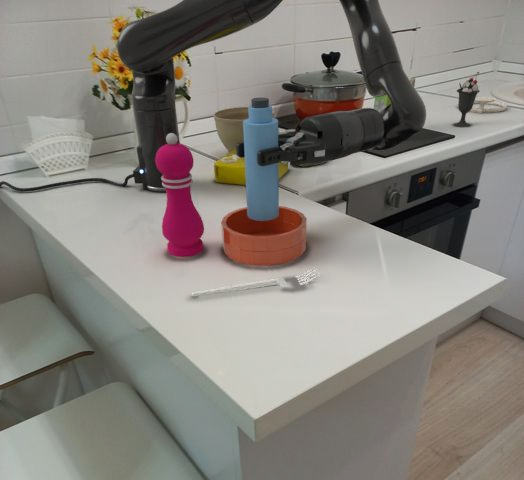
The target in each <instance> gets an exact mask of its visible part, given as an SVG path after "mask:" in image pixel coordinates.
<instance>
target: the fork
mask: <svg viewBox="0 0 524 480" xmlns="http://www.w3.org/2000/svg"><path fill="white" fill-rule="evenodd" d="M320 275H321V273H320V272H319V270H318V268H317V267H316V266H315V267H313V268H311V269H309V270H307V271H305V272H303V273H300V274H298V275H295V276H294V277H295V278H296V280H297V282H298V283H299V285H300V286H303V285H308V284H310V283H311V282H313V281H314V280H315V279H316V278H318V277H319V276H320ZM270 286H280V287H289V285H288V283H287V281H286V280H285V278H284V277H275V278H270V279H264V280H263V279H262V280H257V281H252V282H246V283H245V282H244V283H240V284H234V285H227V286H222V287H216V288H210V289H203V290H198V291H193V292H192V293H191V296H192V297H197V296H204V295H213V294H221V293H229V292H236V291H243V290H251V289H257V288H263V287H264V288H265V287H270Z"/></svg>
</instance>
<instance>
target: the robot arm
mask: <svg viewBox="0 0 524 480" xmlns="http://www.w3.org/2000/svg"><path fill="white" fill-rule="evenodd" d="M283 1H284V0H181V1H180V2H177V3H176V4H175V5H172V6H171V7H169V8H167V9H165V10H163V11H160V12H157V13H155V14H152V15H150V16H146V17H144V18H140V19H136V20H132V21H129V22H128V23H126V24H125V26H124V27H123V28H122V29H121V31H120V32H119V35H118V38H117V41H116V52H117V55H118V58H119V59H120V61H121V63H122V64H123V65H124V66H125V67H126V68H127V69H129V70H130V71H132V78H133V79H132V80H133V84H132V85H133V86H132V92H131V95H130V98H131V105H132V106H131V107H132V111H133V117H134V123H135V129H136V134H137V135H136V136H137V141H138V145H137V146H136V155H137V160H138V165H137V167H135V168H134V170H132V173H131V174H129V175H127V176H126V177H125V178H124V182H123V183H117V182H115V181H112V180H110V179H107V178H103V177H89V178H87V177H86V178H78V179H73V180H66V181H60V182H54V183H49V184H44V185H39V186H34V187H17V186H14V185H13V184H11V183H9V182H7V181H4V180H2V181H0V188H1V187H2V186H7V187H8V188H10V189H12V190H13V191H17V192H22V193H23V192H25V193H26V192H34V191H40V190H46V189H50V188H55V187H60V186H67V185H74V184H79V183H80V184H81V183H88V182H89V183H90V182H103V183H107V184H110V185H112V186H116V187H122V188H124V187H126V186H127V185H128V184H129V182H128V181H129V180H130V179H132V178H133V180H134V184H138V185H139V184H142V189H143V190H147V191H151V192H157V193H164V192H166V189H165V187H164V186H163V185H162V180H161V177H162V175H163V174H162V173H161V172H160V171H159V170H158V168H157V166H156V153H157V151H158V150H159V149H160V148H161V147H162V146H163V145H166V144H168V143H167V141H166V137H167V135H168V134H170V133H173V134H175V135H176V136H177V139H178V141H177V143H179V144H181V139H180V132H179V124H178V123H179V121H178V115H177V107H176V89H177V88H176V74H175V62H174V58H176V56H178V55H180V54H182V53H183V52H185V51H187V50H189V49H192V48H194V47H197V46H201V45H203V44H207V43H210V42H214V41H217V40H219V39H223V38H226V37H228V36H231V35H233V34H236V33H238V32H240V31H242V30H245V29H247V28H250V27H251V26H253V25H255V24H257V23H259V22H261V21H262V20H264V19H265V18H267V17H268V16H269V15H271V13H273V11H274V10H276V9H277V7H278V6H279V5H281V3H282V2H283ZM339 3H340V5H341V6H342V9H343V12H344V14H345V17H346V19H347V20H346V21H347V23H348V26H349V30H350V33H351V37H352V42H353V46H354V50H355V54H356V58H357V62H358V65H359V68H360V72H361V75H362V79H363V81H364V83H365V85H364V86H365V87H366V90H367V92H368V94H369V95H370V96H371V97H373V98H375V97H381V96H384V95H387V96H388V97H389V99H390V101H391V104H389V105H388V106H387V107H386V108H384V109H383V110H382V111H380V112H378V111H377V110H375V109H374V108H372V107H363V108H357V109H352V110H337V111H332V112H326V113H321V114H317V115H310V116H307V117H304V118H303V119H302V120H301V121H300V123H299V124H298V126H297V129H293V128H292V129H286V130H284V131H280V129H279V128H278V147H274V148H269V149H265V150H260V151H258V153H257V163H258V165H259V166H267V165H271V164H275V163H279V161H280V163H282V164H285V163H288V164H289V165H290V166H292V167H295V166H299V165H301V164H307V163H309V164H312V165H311V166H316V165H315V164H318V165H319V163H323V162H324V163H327V162H332V161H336V160H339V159H342V158H346V157H349V156H351V155H354V154H358V153H361V152H366V151H386V150H389V149H392V148H396V147H397V146H399V145H401V144H402V143H403V142H405V141H407V140H408V139H410V138H412V137H413V136H414V135H417V134H418V133H419V132H420V131H421V130H422V129H423V128H424V127H425V124H426V120H427V109H426V104H425V102H424V100H423V99H422V97H421V96H420V94H419V92H418V91H417V89H416V88H415V86H413V85H412V83H411V81H410V80H409V78H410V77H409V76H408V75H407V74H406V72H405V70H404V67H403V64H402V60H401V57H400V54H399V50H398V47H397V45H396V41H395V38H394V34H393V33H392V30H391V27H390V26H389V23H388V21H387V19H386V17H385V14H384V13H383V10H382V8H381V4H380V1H379V0H339ZM236 152H237V156H238V157H240V158H242V157H245V154H244V142H239V143H237V145H236ZM324 163H323V164H324Z"/></svg>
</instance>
